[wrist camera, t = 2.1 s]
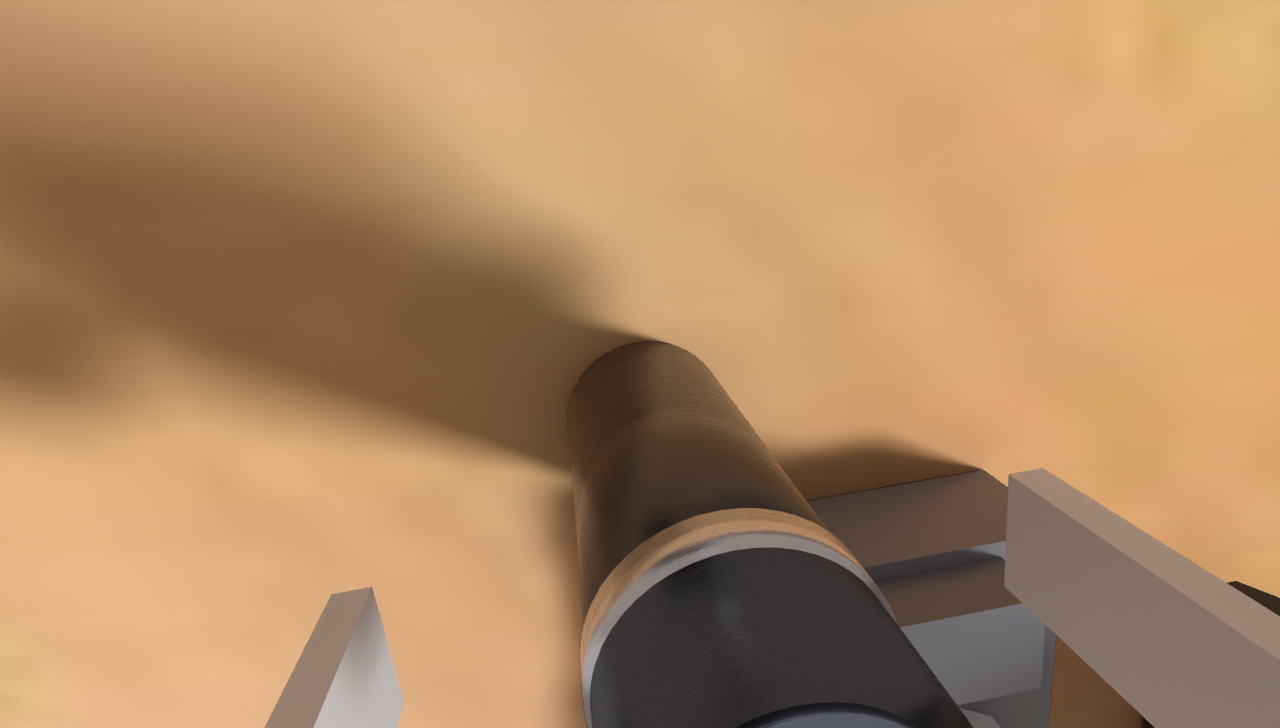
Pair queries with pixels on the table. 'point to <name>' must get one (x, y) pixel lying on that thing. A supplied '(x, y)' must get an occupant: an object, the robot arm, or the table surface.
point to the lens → (719, 571)
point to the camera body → (953, 590)
